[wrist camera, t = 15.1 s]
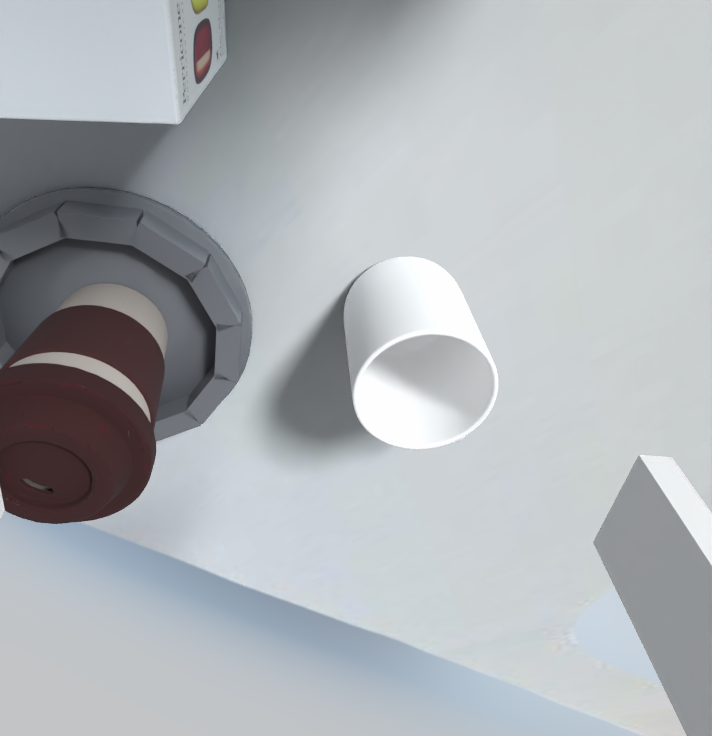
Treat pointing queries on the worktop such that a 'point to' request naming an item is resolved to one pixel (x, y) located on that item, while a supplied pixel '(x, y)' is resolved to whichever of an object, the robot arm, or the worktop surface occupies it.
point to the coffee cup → (82, 407)
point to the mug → (416, 356)
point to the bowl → (131, 286)
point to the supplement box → (108, 58)
